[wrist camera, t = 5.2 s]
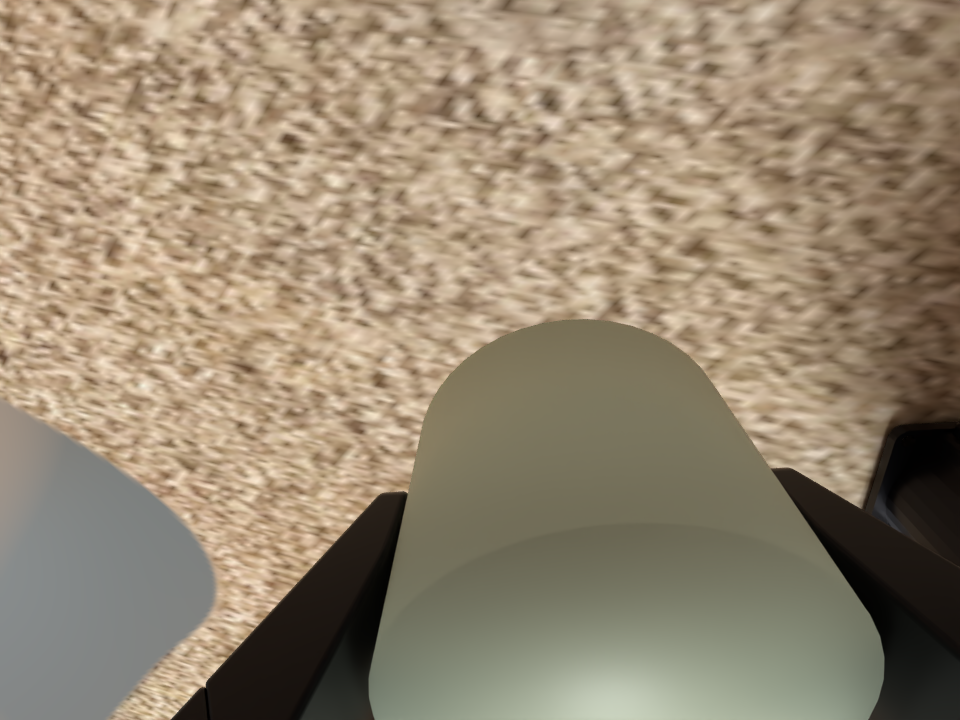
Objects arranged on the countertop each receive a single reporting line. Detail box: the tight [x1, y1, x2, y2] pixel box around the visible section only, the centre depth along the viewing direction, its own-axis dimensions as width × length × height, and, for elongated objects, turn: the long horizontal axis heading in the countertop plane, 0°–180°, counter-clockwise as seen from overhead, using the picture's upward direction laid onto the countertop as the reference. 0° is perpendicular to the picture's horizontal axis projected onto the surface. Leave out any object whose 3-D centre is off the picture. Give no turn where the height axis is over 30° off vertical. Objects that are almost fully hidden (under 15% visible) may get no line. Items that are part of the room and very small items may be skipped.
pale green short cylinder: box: [369, 319, 884, 720], centre depth 7 cm, size 5×5×4 cm
